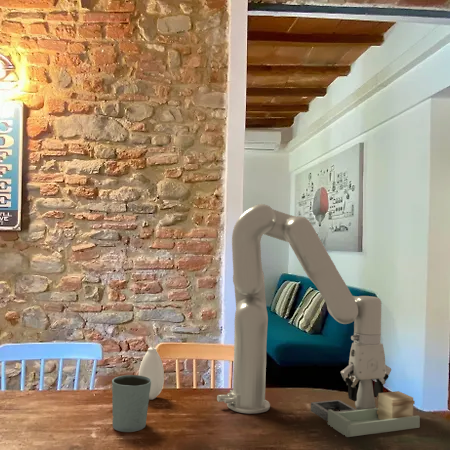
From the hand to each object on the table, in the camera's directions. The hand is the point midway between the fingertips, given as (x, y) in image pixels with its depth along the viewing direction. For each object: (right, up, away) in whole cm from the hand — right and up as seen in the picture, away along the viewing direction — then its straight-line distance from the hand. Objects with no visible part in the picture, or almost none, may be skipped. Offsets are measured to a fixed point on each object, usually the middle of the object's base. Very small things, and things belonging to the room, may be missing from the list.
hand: (365, 398), depth 152 cm
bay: (-1, -4, -10) cm, 11 cm away
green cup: (-66, -2, -16) cm, 68 cm away
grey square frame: (-10, -4, -3) cm, 11 cm away
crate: (+6, -4, -8) cm, 11 cm away
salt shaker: (0, -5, 0) cm, 5 cm away
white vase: (-64, -3, +7) cm, 64 cm away
